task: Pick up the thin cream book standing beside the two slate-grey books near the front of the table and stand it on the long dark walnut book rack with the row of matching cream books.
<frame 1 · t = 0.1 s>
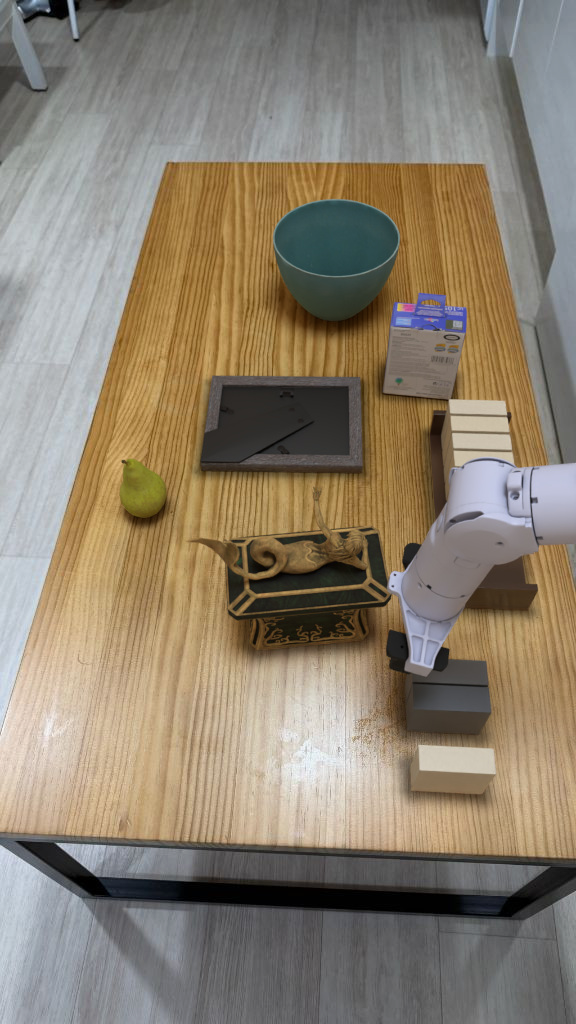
hand: (405, 633, 74), 9 cm above the table, tool pointing down, fingers open, 7 cm apart
picture frame: (284, 427, 102), on the table
fruit: (148, 509, 95), on the table
cream books: (476, 459, 93), point 4 cm above the table
book rack: (476, 542, 91), on the table
ink cartridge box: (418, 385, 106), on the table
cream book: (445, 780, 75), on the table
decorative box: (291, 615, 86), on the table
grey books: (445, 696, 76), on the table
teal bowl: (333, 305, 117), on the table
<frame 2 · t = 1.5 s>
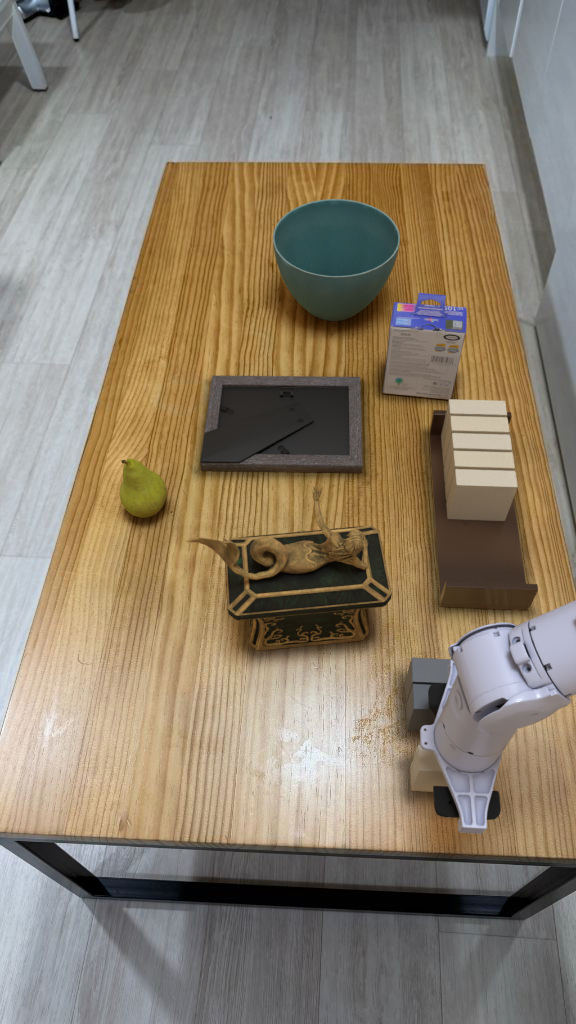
hand: (450, 770, 72), 4 cm above the table, tool pointing down, fingers open, 7 cm apart
nothing on the table moved.
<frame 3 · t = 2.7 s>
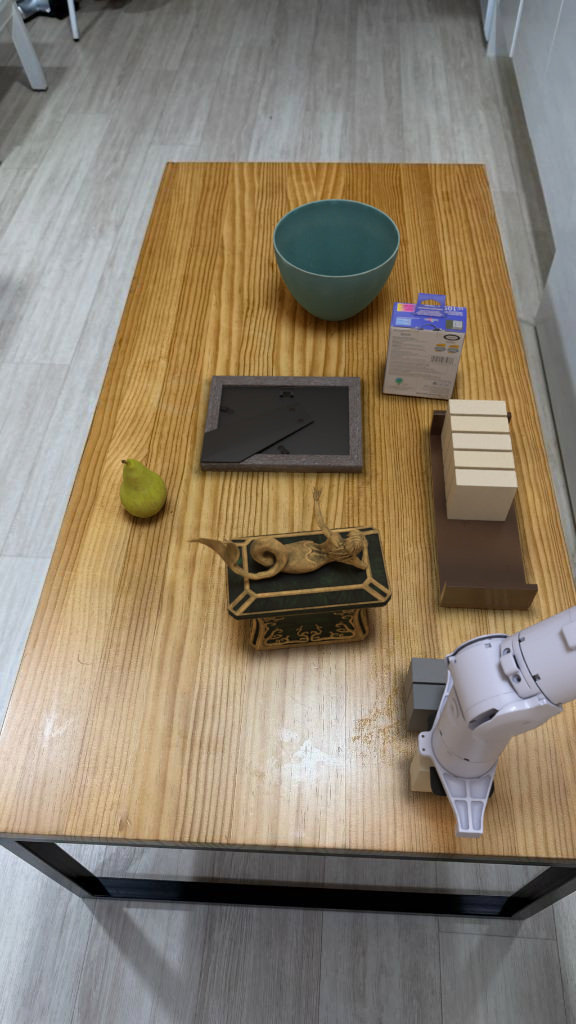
hand: (448, 774, 73), 2 cm above the table, tool pointing down, fingers closed on cream book, 2 cm apart
cream book: (445, 780, 75), on the table, touching gripper
everything else where it was.
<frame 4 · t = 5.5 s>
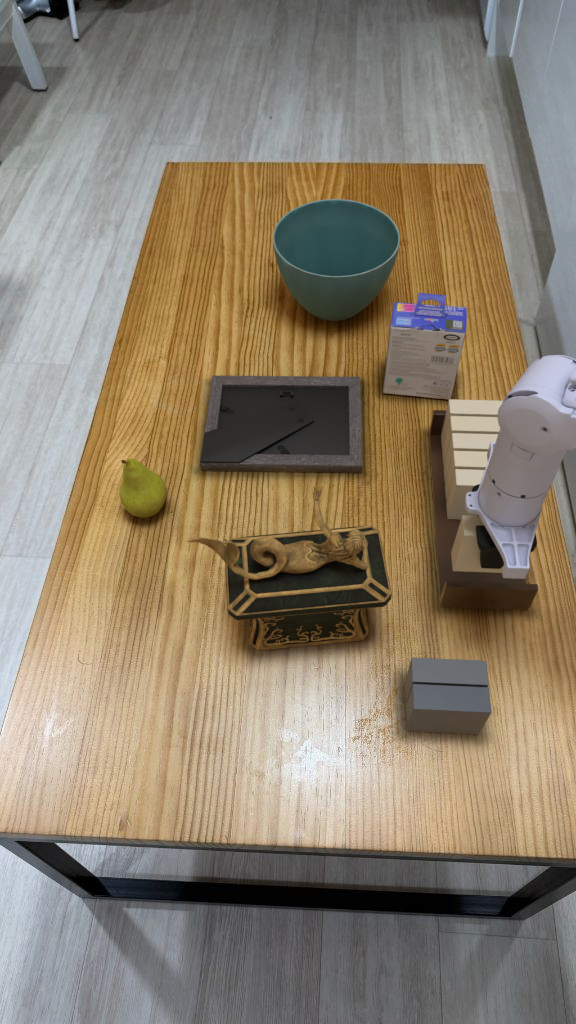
hand: (489, 553, 78), 10 cm above the table, tool pointing down, fingers closed on cream book, 2 cm apart
cream book: (484, 562, 79), point 9 cm above the table, touching gripper
everything else where it was.
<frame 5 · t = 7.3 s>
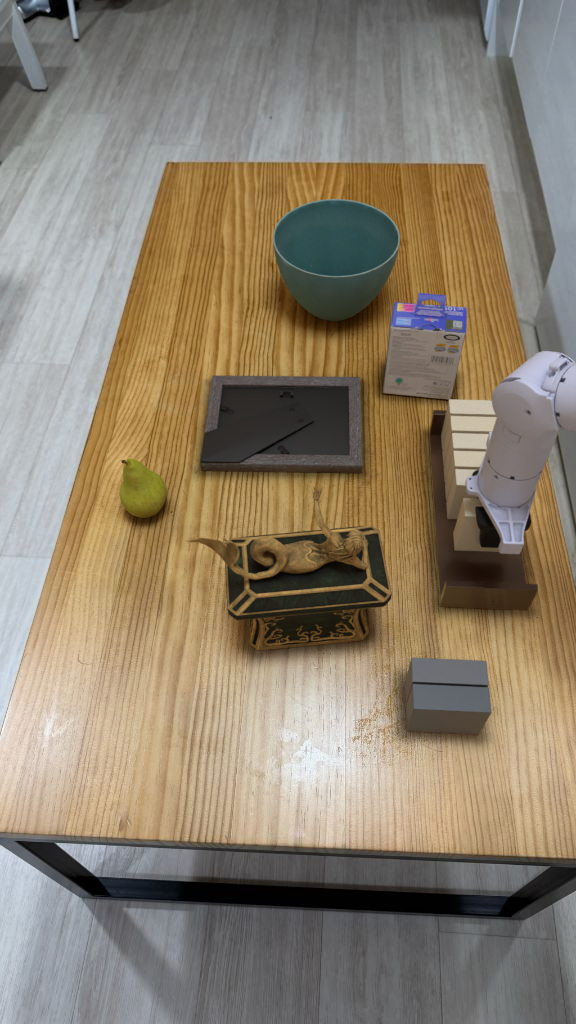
hand: (488, 533, 84), 6 cm above the table, tool pointing down, fingers closed on cream book, 2 cm apart
cream book: (484, 542, 86), point 4 cm above the table, touching gripper
everything else where it was.
when the fingers open (3 cm above the table, at t = 8.5 s): cream book stays where it is, resting on book rack.
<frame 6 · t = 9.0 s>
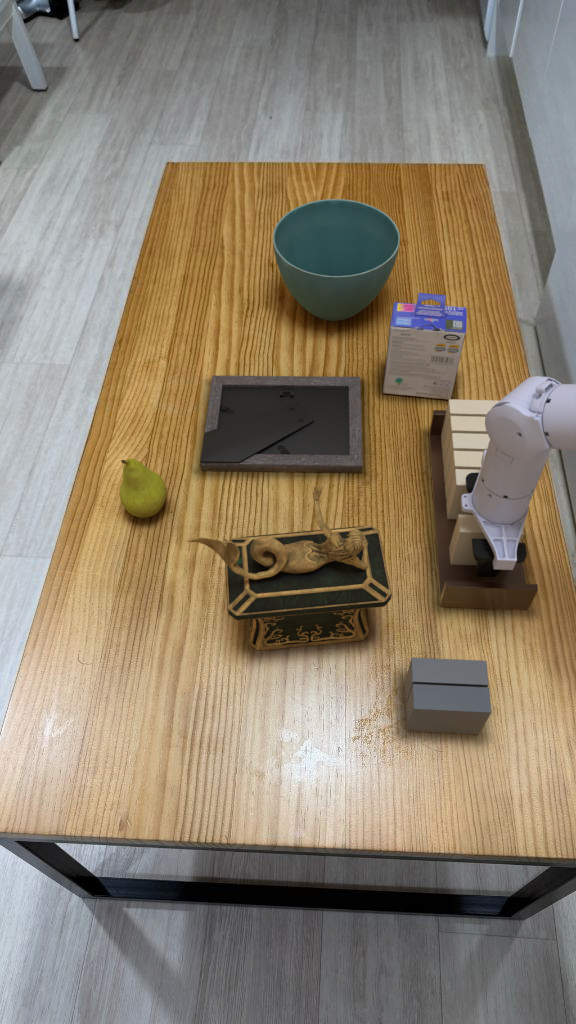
hand: (483, 548, 87), 3 cm above the table, tool pointing down, fingers open, 6 cm apart
cream book: (479, 557, 89), point 1 cm above the table, touching book rack
everything else where it was.
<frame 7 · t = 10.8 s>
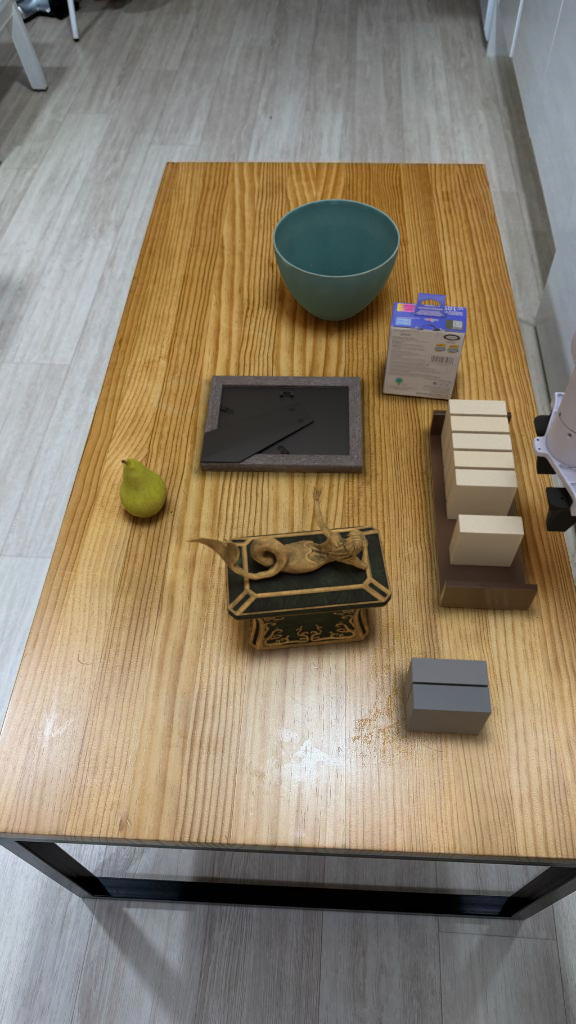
hand: (550, 499, 81), 10 cm above the table, tool pointing down, fingers open, 7 cm apart
nothing on the table moved.
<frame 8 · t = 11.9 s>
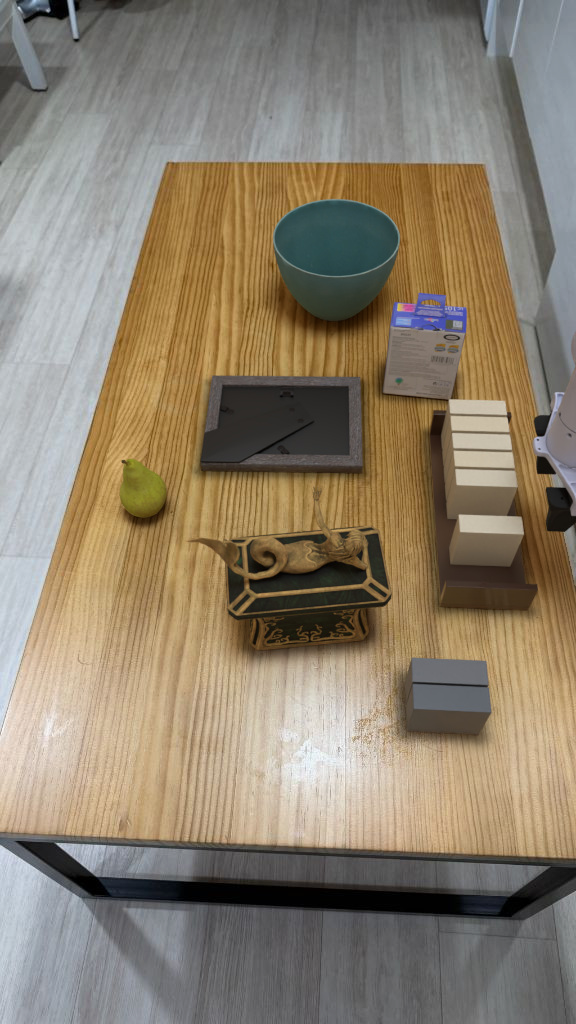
hand: (550, 499, 81), 10 cm above the table, tool pointing down, fingers open, 7 cm apart
nothing on the table moved.
at the end: cream book 0.0 cm from the target spot on the cream books, point 0.8 cm above the cream books's base; cream book tilted 0° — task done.
